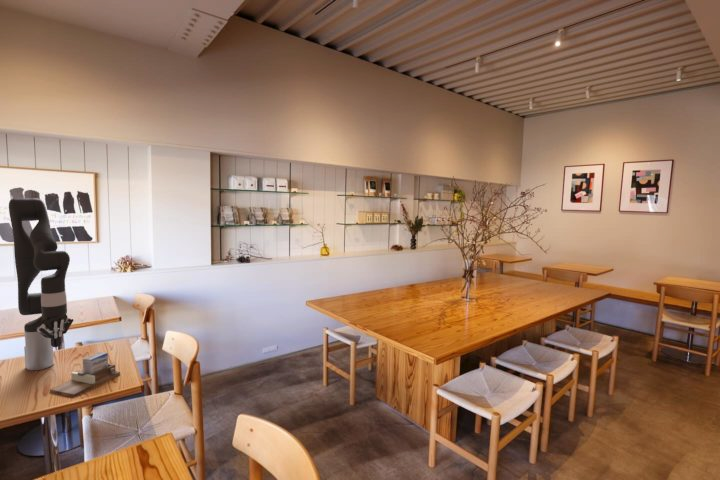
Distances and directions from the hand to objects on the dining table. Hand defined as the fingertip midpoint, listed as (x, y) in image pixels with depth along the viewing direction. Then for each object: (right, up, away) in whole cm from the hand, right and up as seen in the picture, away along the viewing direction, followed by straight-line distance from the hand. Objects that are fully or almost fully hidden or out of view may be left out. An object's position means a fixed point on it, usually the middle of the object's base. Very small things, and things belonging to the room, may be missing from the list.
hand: (56, 346), depth 144 cm
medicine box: (+6, -16, +13) cm, 22 cm away
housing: (+5, -18, +9) cm, 20 cm away
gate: (+5, -16, +7) cm, 18 cm away
